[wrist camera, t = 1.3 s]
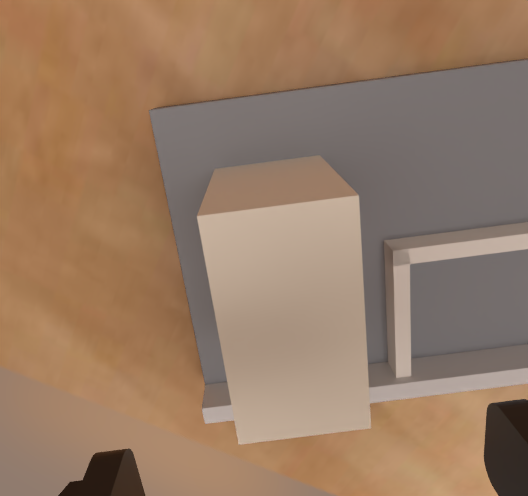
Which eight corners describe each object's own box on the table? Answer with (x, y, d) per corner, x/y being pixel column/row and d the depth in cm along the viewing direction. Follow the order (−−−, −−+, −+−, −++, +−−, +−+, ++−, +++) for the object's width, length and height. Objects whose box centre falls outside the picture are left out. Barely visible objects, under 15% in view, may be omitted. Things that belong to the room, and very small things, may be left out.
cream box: (214, 168, 21) (196, 216, 14) (322, 154, 21) (363, 194, 14) (241, 333, 24) (239, 444, 17) (335, 321, 24) (375, 427, 17)
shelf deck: (625, 45, 22) (702, 38, 18) (584, 333, 28) (637, 373, 24) (157, 107, 22) (138, 112, 18) (211, 380, 28) (205, 426, 24)
